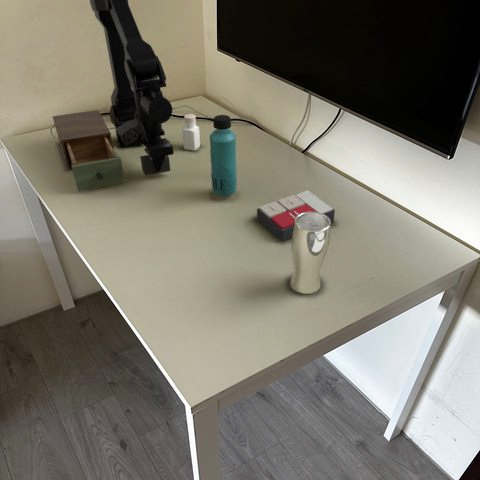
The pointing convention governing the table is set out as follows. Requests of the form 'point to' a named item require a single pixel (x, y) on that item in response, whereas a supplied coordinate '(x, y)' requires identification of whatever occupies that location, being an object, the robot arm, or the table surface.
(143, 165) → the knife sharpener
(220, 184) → the beverage bottle
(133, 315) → the table surface
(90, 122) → the cabinet
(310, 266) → the beer glass
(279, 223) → the grey and red box
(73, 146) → the drawer
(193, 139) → the salt shaker
